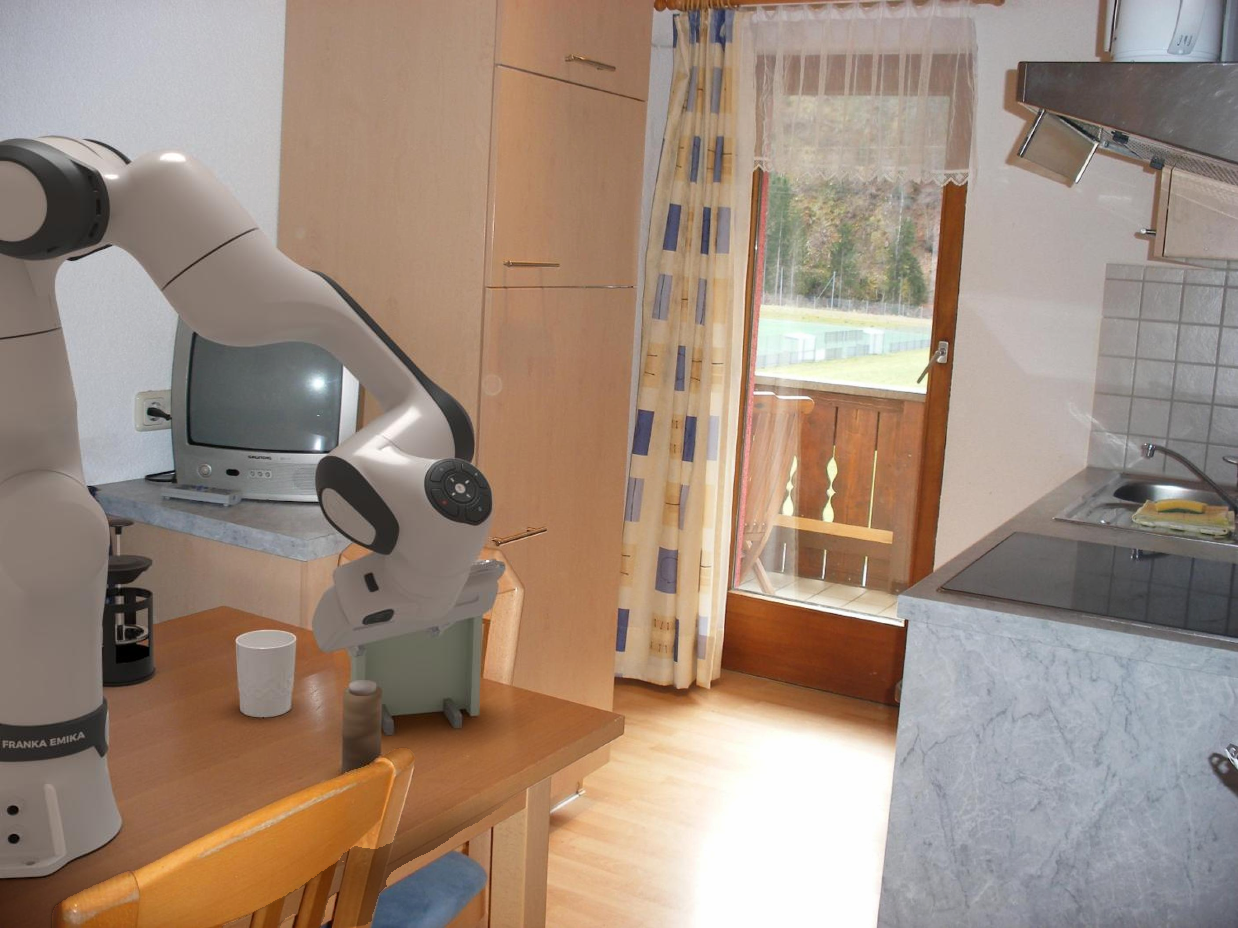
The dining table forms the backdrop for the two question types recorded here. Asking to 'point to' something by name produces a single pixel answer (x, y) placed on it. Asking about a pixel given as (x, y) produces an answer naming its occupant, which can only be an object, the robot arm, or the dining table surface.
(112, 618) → the french press
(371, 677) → the shelf
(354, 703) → the pepper mill
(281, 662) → the white cup
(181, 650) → the dining table surface
